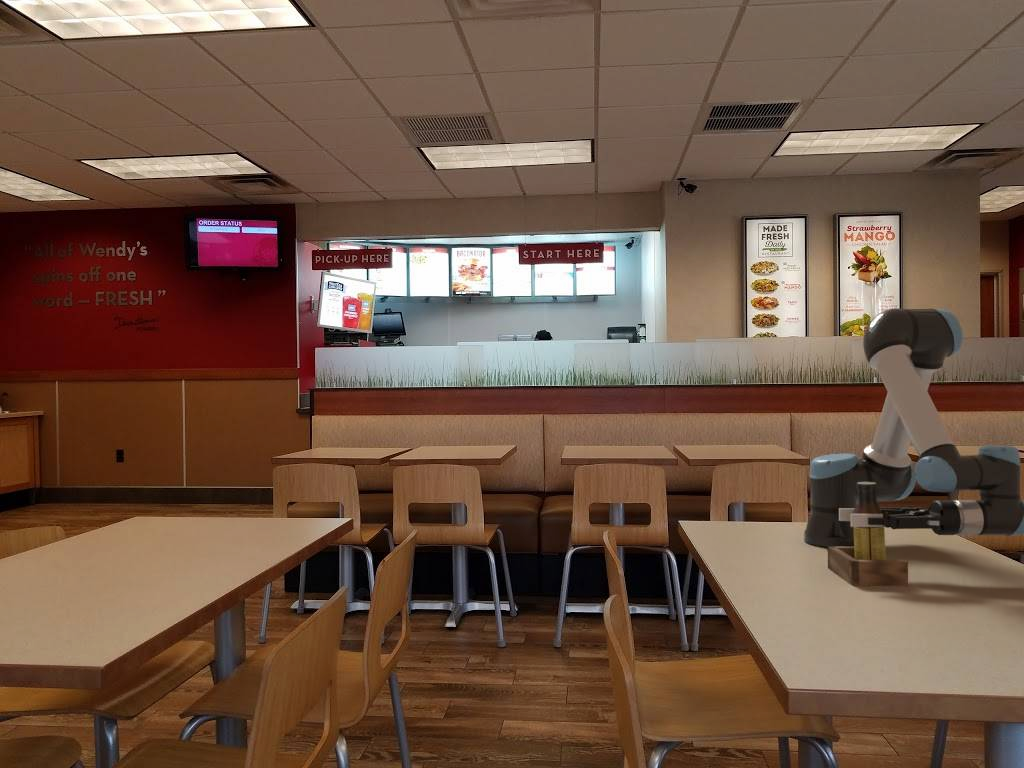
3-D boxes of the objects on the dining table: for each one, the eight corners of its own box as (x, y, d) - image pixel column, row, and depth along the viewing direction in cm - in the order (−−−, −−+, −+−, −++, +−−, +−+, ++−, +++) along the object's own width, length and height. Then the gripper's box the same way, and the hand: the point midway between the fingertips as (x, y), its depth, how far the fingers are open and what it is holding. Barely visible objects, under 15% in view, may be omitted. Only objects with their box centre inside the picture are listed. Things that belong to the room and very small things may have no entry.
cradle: (879, 568, 175) (879, 546, 175) (908, 585, 160) (907, 561, 160) (827, 568, 176) (827, 546, 176) (851, 585, 161) (851, 561, 161)
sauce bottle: (885, 570, 169) (885, 481, 169) (886, 577, 163) (886, 485, 163) (853, 567, 172) (852, 480, 172) (853, 574, 166) (852, 483, 166)
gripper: (977, 544, 156) (862, 543, 158) (933, 526, 176) (830, 526, 178) (977, 507, 157) (861, 507, 158) (932, 494, 176) (830, 494, 178)
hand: (845, 517), depth 168 cm, fingers open, 6 cm apart
